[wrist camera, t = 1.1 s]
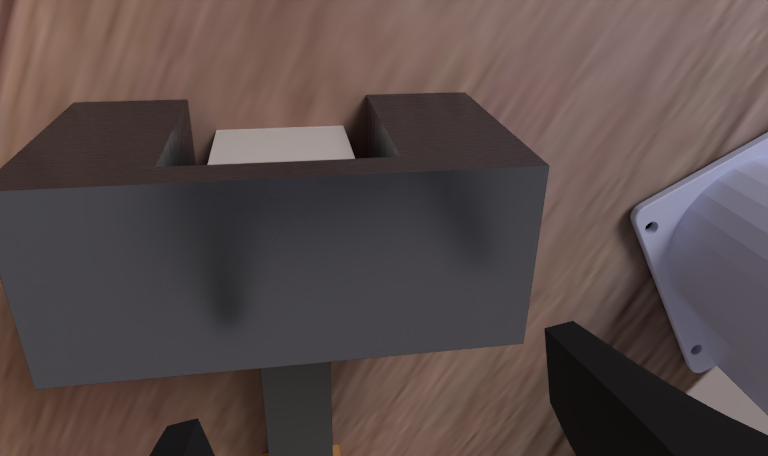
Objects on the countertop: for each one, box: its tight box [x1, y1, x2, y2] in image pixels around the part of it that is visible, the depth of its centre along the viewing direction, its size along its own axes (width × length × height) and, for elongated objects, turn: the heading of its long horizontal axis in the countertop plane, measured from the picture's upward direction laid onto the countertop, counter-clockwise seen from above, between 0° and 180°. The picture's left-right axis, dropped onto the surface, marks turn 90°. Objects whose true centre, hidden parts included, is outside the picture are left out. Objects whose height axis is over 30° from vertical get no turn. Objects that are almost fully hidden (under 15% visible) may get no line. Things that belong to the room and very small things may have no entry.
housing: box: [0, 92, 549, 389], centre depth 17 cm, size 5×12×7 cm, turn 89°
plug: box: [207, 126, 355, 456], centre depth 21 cm, size 16×4×4 cm, turn 179°
